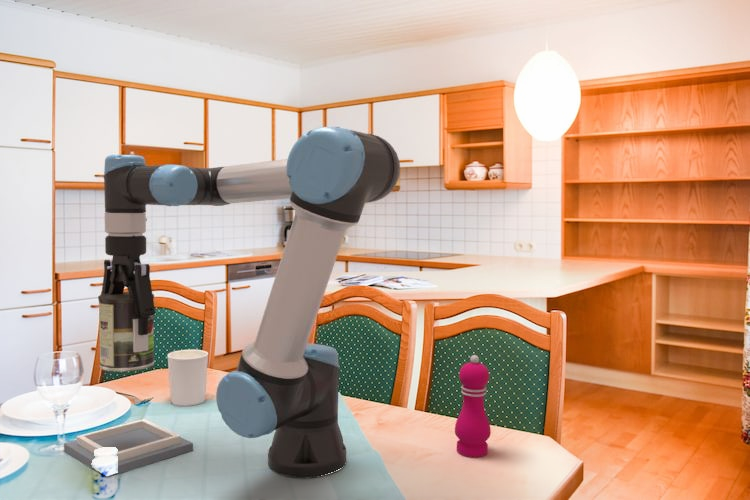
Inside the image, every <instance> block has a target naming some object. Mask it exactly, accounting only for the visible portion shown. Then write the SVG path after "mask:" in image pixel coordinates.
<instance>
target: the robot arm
mask: <svg viewBox="0 0 750 500" xmlns="http://www.w3.org/2000/svg"><path fill="white" fill-rule="evenodd" d="M103 169H104V170H103V173H104V174H103V177H102V178H103V179H104V180H103V183H104V184H103V187H104V233H106V234H107V235H106V237H104V238H105V241H104V242H105V244H104V245H105V246H104V247H105V248H104V249H105V251H104V252H105V254H106V255H108V256H112V259H105V260H103V266H104V267H103V268H104V269H103V270H104V271H103V272H104V273H103V280H102V287H101V294H100V295H102V294H108V293H109V294H111V295H113V294H123V292H125V288H127V292H129V295H130V298H132V299H133V309H134V313H135V315H134V316H133V317H132V319H133V352H141V351H147V350H148V317H150V316H151V315H154V316H155V314H156V309H155V303H154V299H153V295H152V294H153V290H152V284H151V283H152V282H151V277H150V272H151V270H150V267H151V266H150V264H149V263H145V264H143V263H141V258H140V257H141V256H142V255H145V254H146V253H147V237H146V236H145V235H143V234H145V233H147V232H146V231H147V221H148V219H147V216H146V212H147V207H146V206H147V205H150V206H166V207H180V206H215V207H221V206H222V207H223V206H227V205H230V204H241V203H242V204H243V203H253V202H262V201H264V202H265V201H277V200H288V199H289V203H290V205H291V207H292V208H293V210H294V216H293V221H292V223H291V227H290V229H289V233H288V237H287V239H286V242H285V245H284V248H283V252H282V254H281V258H280V262H279V264H278V266H277V267H278V268H277V270H276V274H275V278H274V280H273V284H272V286H271V289H270V293H269V296H268V299H267V302H266V305H265V309H264V311H263V315H262V319H261V322H260V323H259V326H258V331H257V334H256V338H255V340H254V341H253V342H251V343H248V344H247V345H245V346H244V348H243V349H242V351H241V354H240V358H239V360H238V364H237V367H236V369H235V370H232V371H230V372H228V373H227V374H226V375H224V376H223V377H222V378H221V380H220V381H218V382H219V383H218V386H217V387H216V392H215V393H216V396H215V399H216V405H217V409H218V411H219V413H220V415H221V418H222V421H223V422H224V423H225V425H226V426H227V427H228V428H229V429H230V430H231V431H232V432H233V433H235V434H237V436H241V437H242V438H247V439H254V438H255V439H256V438H259V437H263V436H266V435H269V434H272V432H274V433H273V434H274V435H273V439H272V441H271V442H272V443H271V445H270V447H269V449H268V452H267V465H268V467H269V469H271V470H272V471H273V472H274V473H277V474H279V475H282V476H286V477H289V478H291V477H292V478H299V479H300V478H305V477H310V478H318V477H317V476H320V477H322V476H321V475H325V474H328V473H331V472H334V471H336V470H338V469H340V468H342V467H343V466H344V465H345V466H346V464H347V448H346V445H345V443H344V439H343V435H342V432H341V431H342V430H341V428H340V426H339V380H340V379H339V373H340V371H339V370H340V365H339V353H338V350H336V348H334V347H332V346H329V345H325V344H319V343H309V340H310V337H311V335H312V331H313V329H314V325H315V323H316V319H317V316H318V315H319V314H318V313H319V310H320V308H321V305H322V301H323V298H324V295H325V293H326V289H327V287H328V284H329V282H330V278H331V275H332V272H333V269H334V266H335V263H336V261H337V257H338V254H339V252H340V249H341V246H342V242H343V239H344V237H345V234H346V231H347V230H348V229H349V228H352V227H353V226H355V225H357V224H359V222H360V219H361V216H362V213H363V211H364V207H365V205H366V204H368V203H374V202H377V201H380V200H382V199H384V198H385V197H387V196H388V195H389V194H390V193H391V192H392V191H393V190H394V189H395V187H396V185H397V184H398V181H399V178H400V173H401V164H400V159H399V157H398V153H397V151H396V150H395V149H394V147H393V146H392V145H391V144H390V143H389V142H388V140H386V139H384V138H383V137H381V136H379V135H376V134H372V133H366V132H361V131H357V130H353V129H348V128H345V127H341V126H319V127H315V128H313V129H310V130H309V131H308V132H305V133H304V134H303V135H301V136H300V137H299V138H298V139H297V140H296V141H295V143H294V144H293V146H292V147H291V149H290V152H289V154H288V156H287V158H285V159H275V160H268V161H259V162H258V161H257V162H251V163H244V164H243V163H242V164H236V165H235V164H234V165H226V166H218V167H207V168H206V167H194V166H193V167H192V166H185V165H180V164H171V163H169V164H159V165H158V164H157V165H156V164H155V165H147V164H146V159H145V157H144V156H143V155H142V156H141V155H137V154H135V155H134V154H110V155H107V156H106V157H105V159H104V168H103ZM345 463H346V464H345ZM345 466H344V467H345ZM344 467H343V468H344ZM343 468H342V469H343ZM340 470H341V469H340ZM325 476H326V475H325ZM305 479H306V478H305Z"/></svg>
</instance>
